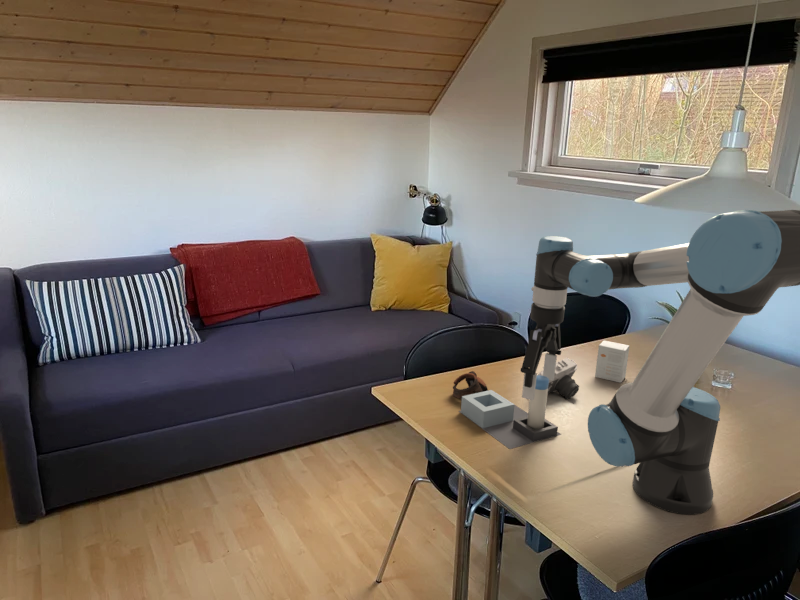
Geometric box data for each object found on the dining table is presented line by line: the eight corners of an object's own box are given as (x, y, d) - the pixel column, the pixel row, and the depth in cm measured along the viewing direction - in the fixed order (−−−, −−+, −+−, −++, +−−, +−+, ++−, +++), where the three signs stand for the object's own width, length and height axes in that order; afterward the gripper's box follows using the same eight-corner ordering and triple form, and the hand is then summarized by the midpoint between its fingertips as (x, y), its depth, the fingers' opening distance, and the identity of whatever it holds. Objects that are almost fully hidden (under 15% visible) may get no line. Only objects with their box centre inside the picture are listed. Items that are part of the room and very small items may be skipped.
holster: (556, 435, 143) (557, 426, 143) (533, 441, 140) (534, 433, 139) (536, 421, 150) (537, 413, 149) (512, 427, 146) (513, 419, 146)
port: (513, 420, 150) (514, 404, 149) (482, 428, 145) (484, 411, 144) (490, 405, 158) (491, 389, 157) (460, 412, 153) (461, 396, 152)
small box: (625, 377, 181) (630, 345, 178) (621, 383, 177) (626, 350, 174) (599, 371, 185) (603, 339, 183) (594, 377, 181) (598, 344, 178)
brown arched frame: (493, 408, 159) (481, 386, 155) (460, 419, 162) (448, 397, 158) (490, 380, 169) (479, 359, 166) (459, 390, 172) (448, 369, 168)
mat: (561, 437, 144) (561, 434, 144) (509, 452, 136) (509, 449, 136) (506, 402, 162) (506, 399, 161) (458, 413, 154) (458, 411, 154)
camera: (523, 391, 166) (538, 365, 160) (557, 375, 176) (572, 350, 170) (547, 414, 161) (563, 388, 155) (581, 396, 171) (597, 371, 165)
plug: (546, 433, 144) (552, 380, 140) (533, 436, 142) (539, 383, 138) (535, 426, 147) (541, 374, 144) (523, 429, 146) (528, 376, 142)
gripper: (551, 289, 148) (541, 367, 154) (511, 313, 128) (502, 402, 134) (580, 295, 144) (570, 375, 150) (545, 321, 124) (534, 412, 130)
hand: (538, 388), depth 142 cm, fingers open, 13 cm apart
